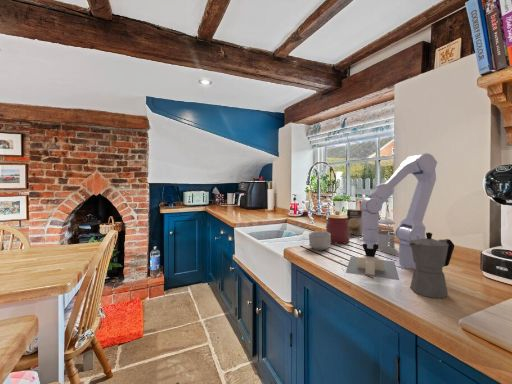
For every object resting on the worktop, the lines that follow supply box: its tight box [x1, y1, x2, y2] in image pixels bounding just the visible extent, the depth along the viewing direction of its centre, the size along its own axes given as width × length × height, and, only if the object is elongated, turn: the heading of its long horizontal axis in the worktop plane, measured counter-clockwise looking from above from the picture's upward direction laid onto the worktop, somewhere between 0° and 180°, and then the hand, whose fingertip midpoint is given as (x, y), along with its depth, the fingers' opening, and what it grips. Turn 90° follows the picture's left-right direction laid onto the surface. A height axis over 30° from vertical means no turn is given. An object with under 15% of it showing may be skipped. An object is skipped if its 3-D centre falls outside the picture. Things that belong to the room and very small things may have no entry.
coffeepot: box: [409, 232, 455, 299], centre depth 74 cm, size 15×9×18 cm, turn 101°
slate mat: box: [345, 256, 400, 281], centre depth 96 cm, size 17×22×1 cm
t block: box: [357, 254, 385, 275], centre depth 91 cm, size 9×9×4 cm
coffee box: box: [346, 208, 363, 236], centre depth 160 cm, size 9×6×16 cm
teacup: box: [308, 230, 331, 251], centre depth 126 cm, size 14×11×8 cm
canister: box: [325, 210, 351, 244], centre depth 141 cm, size 13×13×18 cm
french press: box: [377, 199, 398, 252], centre depth 122 cm, size 10×12×25 cm
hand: (370, 262), depth 97 cm, fingers closed
